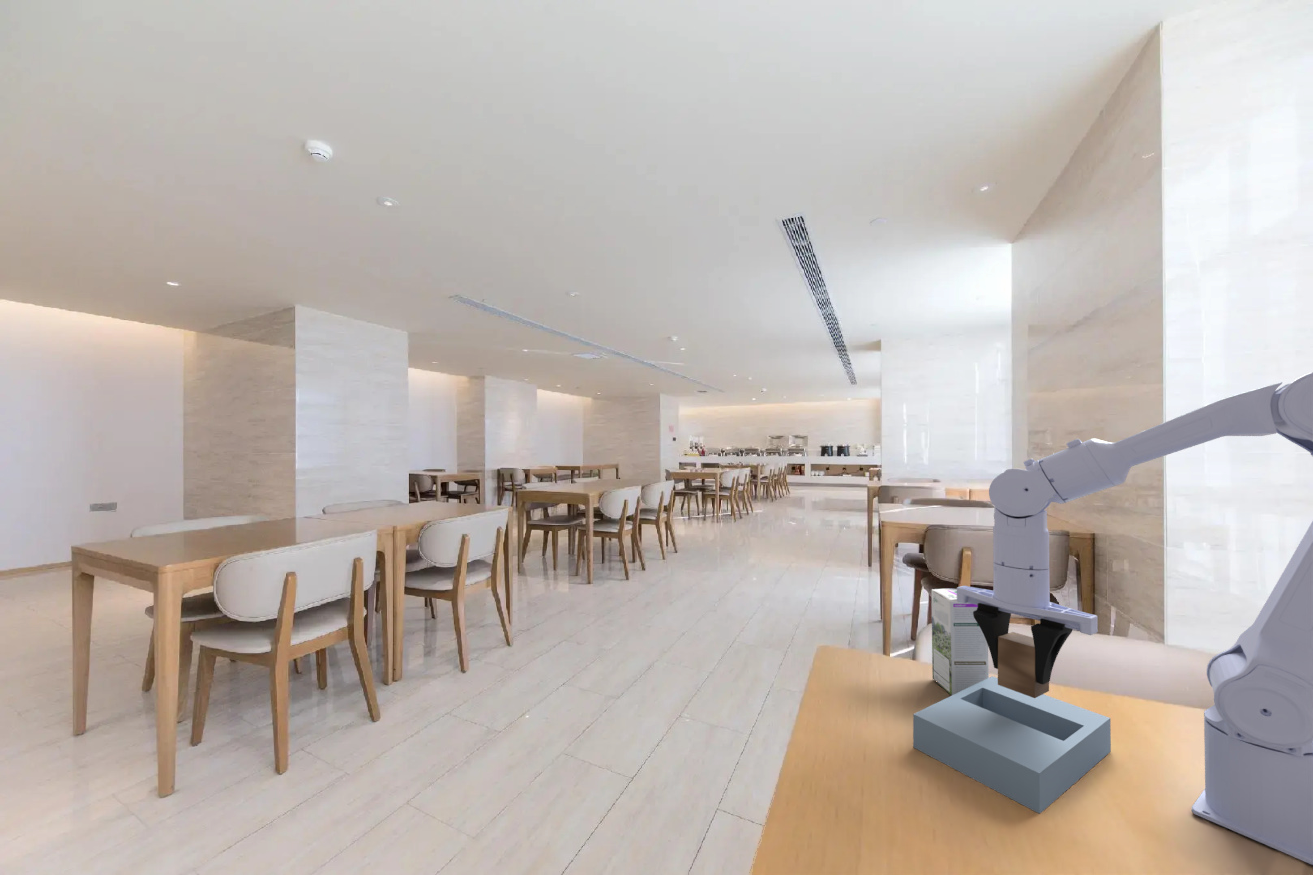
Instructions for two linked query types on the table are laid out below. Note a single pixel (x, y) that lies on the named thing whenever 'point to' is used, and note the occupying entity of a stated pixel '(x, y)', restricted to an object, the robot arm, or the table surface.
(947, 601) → the syrup box
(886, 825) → the table surface
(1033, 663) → the walnut block
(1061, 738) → the well stand
